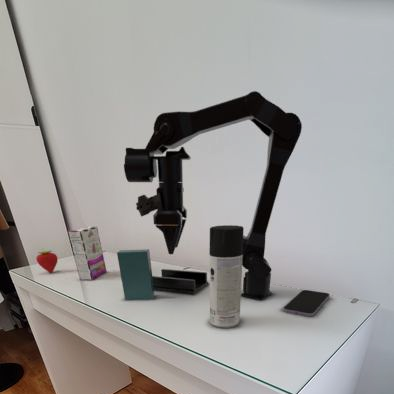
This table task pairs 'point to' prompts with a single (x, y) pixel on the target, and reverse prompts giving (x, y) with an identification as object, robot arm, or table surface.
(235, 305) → the spray can
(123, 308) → the table surface
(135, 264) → the book
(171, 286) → the black rack
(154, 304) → the table surface
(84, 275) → the candy bar box
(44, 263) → the strawberry
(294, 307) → the smartphone
